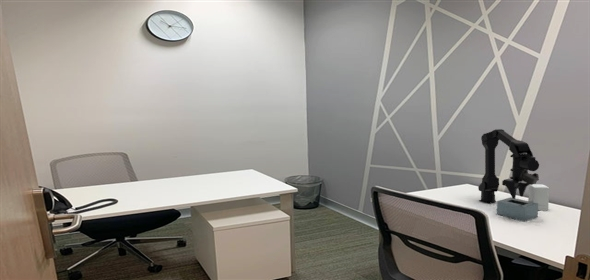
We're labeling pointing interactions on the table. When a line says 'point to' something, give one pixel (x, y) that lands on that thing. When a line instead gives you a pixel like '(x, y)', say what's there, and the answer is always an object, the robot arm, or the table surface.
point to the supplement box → (539, 196)
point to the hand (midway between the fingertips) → (517, 197)
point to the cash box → (517, 209)
